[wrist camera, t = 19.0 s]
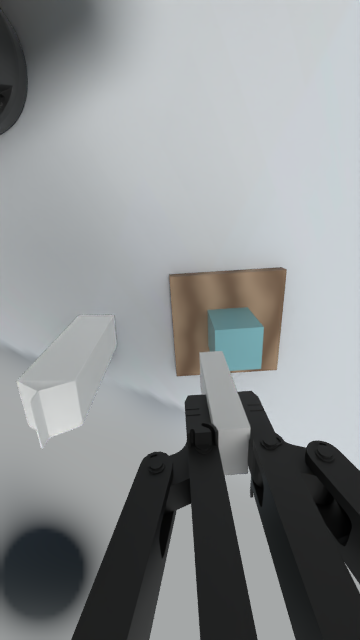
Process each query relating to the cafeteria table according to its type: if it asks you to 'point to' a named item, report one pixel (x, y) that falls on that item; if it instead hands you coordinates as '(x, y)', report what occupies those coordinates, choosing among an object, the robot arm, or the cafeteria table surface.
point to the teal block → (236, 337)
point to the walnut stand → (223, 293)
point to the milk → (68, 376)
